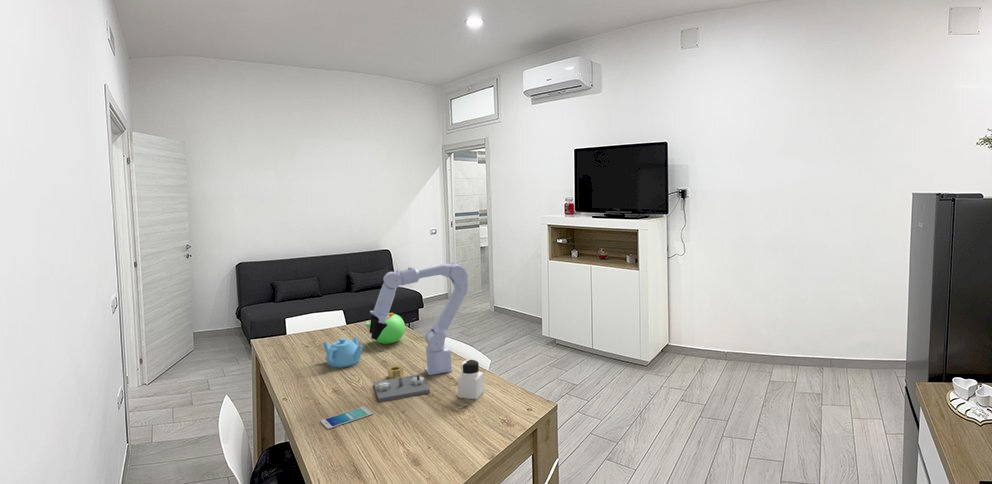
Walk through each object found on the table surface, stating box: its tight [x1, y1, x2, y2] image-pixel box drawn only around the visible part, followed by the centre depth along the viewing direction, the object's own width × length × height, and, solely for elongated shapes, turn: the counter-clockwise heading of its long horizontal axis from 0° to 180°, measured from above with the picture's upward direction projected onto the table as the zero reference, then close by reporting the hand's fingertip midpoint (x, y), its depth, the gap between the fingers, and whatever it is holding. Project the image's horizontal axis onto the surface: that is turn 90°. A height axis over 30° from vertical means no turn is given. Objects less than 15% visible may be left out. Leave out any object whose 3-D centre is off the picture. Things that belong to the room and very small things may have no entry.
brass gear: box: [387, 365, 404, 379], centre depth 191 cm, size 6×6×3 cm
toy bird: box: [364, 312, 406, 345], centre depth 234 cm, size 18×17×15 cm
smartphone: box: [320, 406, 374, 430], centre depth 157 cm, size 8×1×15 cm
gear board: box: [373, 373, 431, 403], centre depth 179 cm, size 18×16×4 cm
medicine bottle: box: [456, 359, 485, 400], centre depth 171 cm, size 7×7×12 cm
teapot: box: [322, 337, 364, 369], centre depth 209 cm, size 15×15×11 cm
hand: (373, 336), depth 187 cm, fingers open, 7 cm apart
